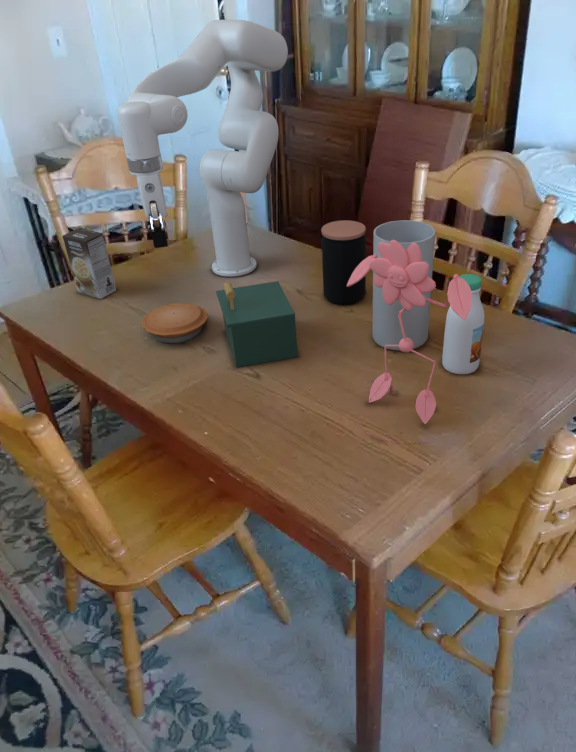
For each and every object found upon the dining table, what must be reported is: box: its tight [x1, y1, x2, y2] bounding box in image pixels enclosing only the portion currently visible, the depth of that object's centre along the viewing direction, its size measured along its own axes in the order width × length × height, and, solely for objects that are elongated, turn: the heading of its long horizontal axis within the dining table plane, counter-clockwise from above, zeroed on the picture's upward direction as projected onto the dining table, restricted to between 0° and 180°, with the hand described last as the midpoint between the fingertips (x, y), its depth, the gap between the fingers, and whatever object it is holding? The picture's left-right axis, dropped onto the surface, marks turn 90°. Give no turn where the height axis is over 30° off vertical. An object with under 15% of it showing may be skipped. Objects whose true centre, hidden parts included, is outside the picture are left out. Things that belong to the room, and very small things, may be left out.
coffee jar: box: [320, 219, 367, 307], centre depth 162 cm, size 11×11×18 cm
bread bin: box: [222, 314, 299, 368], centre depth 148 cm, size 14×17×10 cm
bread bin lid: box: [215, 280, 296, 328], centre depth 144 cm, size 15×17×5 cm
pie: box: [141, 302, 209, 344], centre depth 156 cm, size 16×16×5 cm
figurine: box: [347, 240, 472, 446], centre depth 116 cm, size 15×26×35 cm, turn 48°
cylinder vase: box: [371, 219, 436, 352], centre depth 143 cm, size 12×12×25 cm
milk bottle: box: [441, 273, 486, 375], centre depth 134 cm, size 8×8×20 cm
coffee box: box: [61, 227, 117, 300], centre depth 173 cm, size 9×6×16 cm
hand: (159, 240), depth 157 cm, fingers open, 7 cm apart
